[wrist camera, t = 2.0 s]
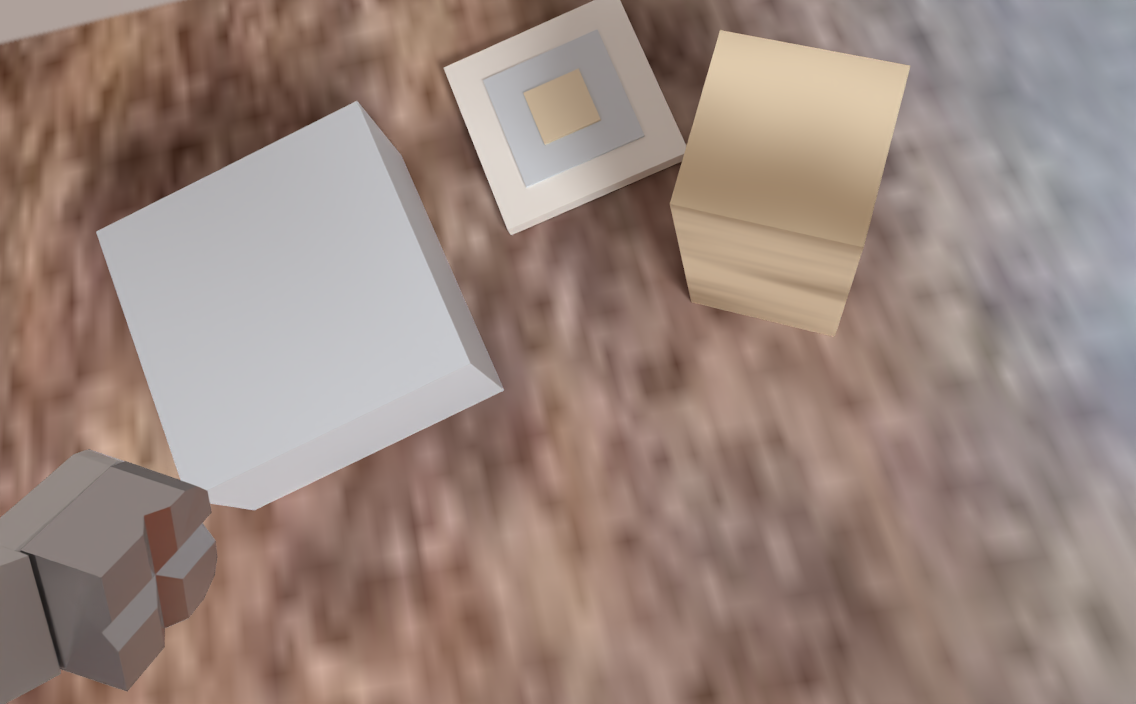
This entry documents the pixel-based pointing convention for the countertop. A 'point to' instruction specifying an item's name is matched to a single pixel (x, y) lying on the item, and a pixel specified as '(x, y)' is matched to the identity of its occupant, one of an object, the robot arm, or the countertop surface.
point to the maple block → (783, 178)
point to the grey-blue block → (295, 312)
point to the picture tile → (565, 113)
